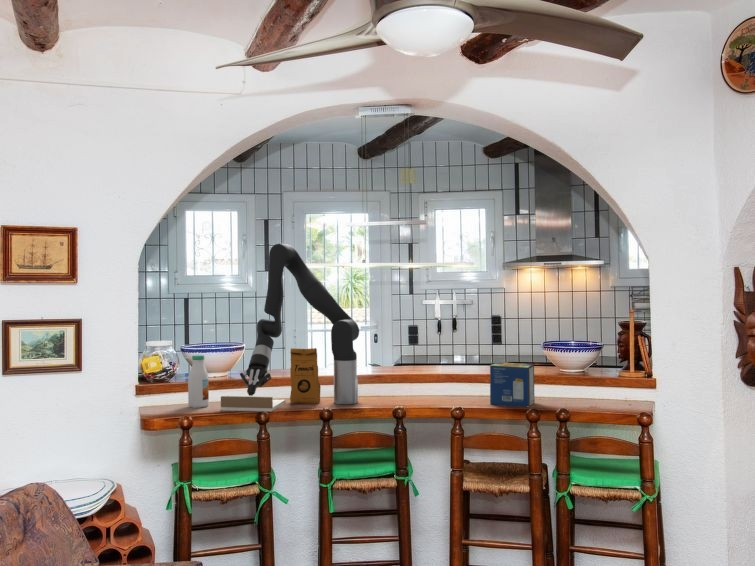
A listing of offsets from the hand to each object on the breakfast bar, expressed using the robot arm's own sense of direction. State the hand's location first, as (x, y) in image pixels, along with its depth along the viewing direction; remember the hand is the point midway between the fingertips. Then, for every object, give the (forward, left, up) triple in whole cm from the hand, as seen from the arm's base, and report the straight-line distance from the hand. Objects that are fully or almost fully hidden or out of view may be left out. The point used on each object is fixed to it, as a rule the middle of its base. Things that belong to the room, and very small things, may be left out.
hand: (250, 394), depth 251 cm
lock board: (0, -4, -5) cm, 7 cm away
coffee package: (-18, -14, -6) cm, 24 cm away
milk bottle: (+22, -2, -6) cm, 23 cm away
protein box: (-100, -21, -6) cm, 102 cm away
